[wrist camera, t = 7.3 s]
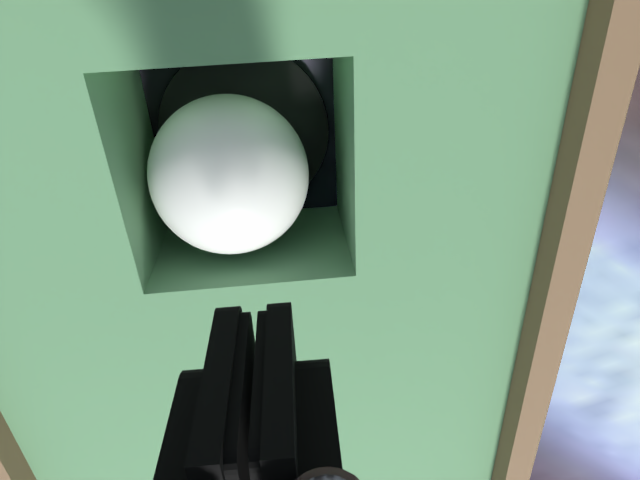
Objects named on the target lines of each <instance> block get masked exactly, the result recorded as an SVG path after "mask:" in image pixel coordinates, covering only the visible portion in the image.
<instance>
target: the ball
mask: <svg viewBox="0 0 640 480" xmlns="http://www.w3.org/2000/svg"><path fill="white" fill-rule="evenodd" d="M147 181H148V188H149V192H150V196H151V199H152V202H153V204H154V206H155V208H156V210H157V212H158V214H159V216H160V217H161V218H162V220H163V221H164V223H165V224H166V225H167V226H168V227H169V228H170V229H171V230H172V232H173V233H175V234H176V235H177V236H178V237H180V238H181V239H182V240H184V241H185V242H187V243H189V244H190V245H192V246H194V247H197V248H199V249H201V250H205V251H208V252H212V253H218V254H229V255H231V254H242V253H248V252H251V251H255V250H258V249H260V248H262V247H265V246H267V245H269V244H270V243H272V242H274V241H275V240H277V239H278V238H279V237H280V236H282V235H283V234H284V233H285V232H286V231H287V230H288V229H289V228H290V227H291V225H292V224H293V223H294V221H295V220H296V218H297V217H298V215H299V213H300V211H301V209H302V207H303V205H304V202H305V199H306V195H307V190H308V184H309V169H308V162H307V156H306V153H305V150H304V147H303V145H302V142H301V140H300V138H299V136H298V135H297V133H296V132H295V130H294V129H293V127H292V126H291V125H290V123H289V122H288V121H287V120H286V119H285V118H284V117H283V116H282V115H281V114H279V113H278V112H277V111H276V110H275V109H273V108H272V107H270V106H269V105H267V104H265V103H263V102H261V101H258V100H256V99H253V98H251V97H247V96H243V95H237V94H215V95H209V96H205V97H202V98H199V99H196V100H194V101H192V102H190V103H188V104H186V105H184V106H183V107H181V108H180V109H178V110H177V111H176V112H174V113H173V114H172V115H171V116H170V117H169V118H168V119H167V120H166V122H165V123H164V124H163V125H162V126H161V128H160V130H159V131H158V133H157V135H156V137H155V138H154V141H153V143H152V146H151V149H150V153H149V157H148V162H147Z"/></svg>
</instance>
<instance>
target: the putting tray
mask: <svg viewBox="0 0 640 480" xmlns="http://www.w3.org/2000/svg"><path fill="white" fill-rule="evenodd" d="M318 58H333V88H334V120H335V153H336V186H337V206H329V207H316V208H303V209H301V211H300V213H299V215H298V217H297V218H296V220H295V221H294V223H293V224H292V225H291V227H290V228H289V229H288V230H287V231H286V232H285V233H284V234H283V235H282V236H280V237H279V238H278V239H277V240H275V241H274V242H272V243H270V244H269V245H267V246H265V247H262V248H260V249H258V250H255V251H251V252H248V253H242V254H231V255H229V254H218V253H212V252H208V251H205V250H201V249H199V248H197V247H194V246H192V245H190V244H189V243H187V242H185V241H184V240H182V239H181V238H180V237H178V236H177V235H176V234H175V233H173V232H172V230H171V229H170V228H169V227H168V226H167V225H166V224H165V223H164V221H163V220H162V218H161V217H160V216H159V214H158V212H157V210H156V208H155V206H154V204H153V202H152V199H151V196H150V192H149V188H148V181H147V162H148V157H149V153H150V149H151V146H152V143H153V141H154V135H153V131H152V126H151V122H150V117H149V113H148V108H147V103H146V99H145V94H144V90H143V85H142V81H141V76H140V71H139V70H144V69H160V68H176V67H182V68H181V69H180V70H179V71H178V72H177V73H176V74H175V76H174V77H173V78H172V80H171V81H170V83H169V85H168V86H167V88H166V90H165V93H164V95H163V97H162V101H161V104H160V108H159V115H158V131H159V130H160V128H161V126H162V125H163V124H164V123H165V122H166V120H167V119H168V118H169V117H170V116H171V115H172V114H173V113H174V112H176V111H177V110H178V109H180V108H181V107H183V106H184V105H186V104H188V103H190V102H192V101H194V100H196V99H199V98H202V97H205V96H209V95H215V94H237V95H243V96H247V97H251V98H253V99H256V100H258V101H261V102H263V103H265V104H267V105H269V106H270V107H272V108H273V109H275V110H276V111H277V112H278V113H279V114H281V115H282V116H283V117H284V118H285V119H286V120H287V121H288V122H289V123H290V125H291V126H292V127H293V129H294V130H295V132H296V133H297V135H298V136H299V138H300V140H301V142H302V145H303V147H304V150H305V153H306V156H307V162H308V169H309V183H310V181H311V180H312V179H313V178H314V176H315V175H316V173H317V172H318V170H319V168H320V166H321V164H322V162H323V160H324V157H325V153H326V150H327V145H328V135H329V127H328V118H327V114H326V109H325V106H324V103H323V101H322V98H321V96H320V93H319V92H318V90H317V88H316V86H315V84H314V83H313V82H312V80H311V79H310V78H309V76H308V75H307V74H306V73H305V72H304V71H303V70H302V69H301V68H300V67H299V66H298V65H297V64H295V63H294V62H293V61H292V60H302V59H318ZM639 65H640V0H0V480H153V477H154V473H155V469H156V465H157V461H158V457H159V453H160V449H161V445H162V441H163V437H164V433H165V429H166V425H167V421H168V417H169V413H170V409H171V405H172V401H173V397H174V394H175V390H176V386H177V382H178V378H179V375H180V373H181V372H182V370H194V369H203V367H204V362H205V357H206V352H207V347H208V342H209V336H210V331H211V326H212V321H213V316H214V311H215V309H216V308H220V307H233V306H241V308H242V312H251V316H252V323H253V330H254V337H255V340H256V325H257V312H258V311H265V310H266V307H267V304H272V303H285V302H291V305H292V316H293V327H294V338H295V349H296V360H297V361H305V360H317V359H329V361H330V368H331V376H332V385H333V393H334V401H335V410H336V418H337V426H338V434H339V443H340V451H341V459H342V468H343V469H344V470H346V471H348V472H350V473H352V474H354V475H355V476H356V477H357V478H358V479H359V480H529V479H530V475H531V472H532V468H533V464H534V460H535V457H536V453H537V449H538V445H539V442H540V438H541V434H542V430H543V427H544V423H545V419H546V415H547V412H548V408H549V404H550V400H551V396H552V393H553V389H554V385H555V381H556V378H557V374H558V370H559V366H560V363H561V359H562V355H563V351H564V348H565V344H566V340H567V336H568V333H569V329H570V325H571V321H572V317H573V314H574V310H575V306H576V302H577V299H578V295H579V291H580V287H581V284H582V280H583V276H584V272H585V269H586V265H587V261H588V257H589V254H590V250H591V246H592V242H593V239H594V235H595V231H596V227H597V223H598V220H599V216H600V212H601V208H602V205H603V201H604V197H605V193H606V190H607V186H608V182H609V178H610V175H611V171H612V167H613V163H614V160H615V156H616V152H617V148H618V144H619V141H620V137H621V133H622V129H623V126H624V122H625V118H626V114H627V111H628V107H629V103H630V99H631V96H632V92H633V88H634V84H635V81H636V77H637V73H638V69H639Z"/></svg>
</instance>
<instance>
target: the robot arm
mask: <svg viewBox="0 0 640 480" xmlns="http://www.w3.org/2000/svg"><path fill="white" fill-rule="evenodd" d="M153 480H359V479H358V478H357V477H356V476H355V475H354V474H352V473H350V472H348V471H346V470H344V469H343V468H342V459H341V451H340V443H339V434H338V426H337V418H336V410H335V401H334V393H333V385H332V376H331V368H330V361H329V359H317V360H305V361H297V360H296V349H295V338H294V327H293V316H292V305H291V302H285V303H272V304H267V307H266V310H265V311H258V312H257V325H256V340H255V337H254V330H253V323H252V316H251V312H242V308H241V306H233V307H220V308H216V309H215V311H214V316H213V321H212V326H211V331H210V336H209V342H208V347H207V352H206V357H205V362H204V367H203V369H194V370H182V372H181V373H180V375H179V378H178V382H177V386H176V390H175V394H174V397H173V401H172V405H171V409H170V413H169V417H168V421H167V425H166V429H165V433H164V437H163V441H162V445H161V449H160V453H159V457H158V461H157V465H156V469H155V473H154V477H153Z"/></svg>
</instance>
